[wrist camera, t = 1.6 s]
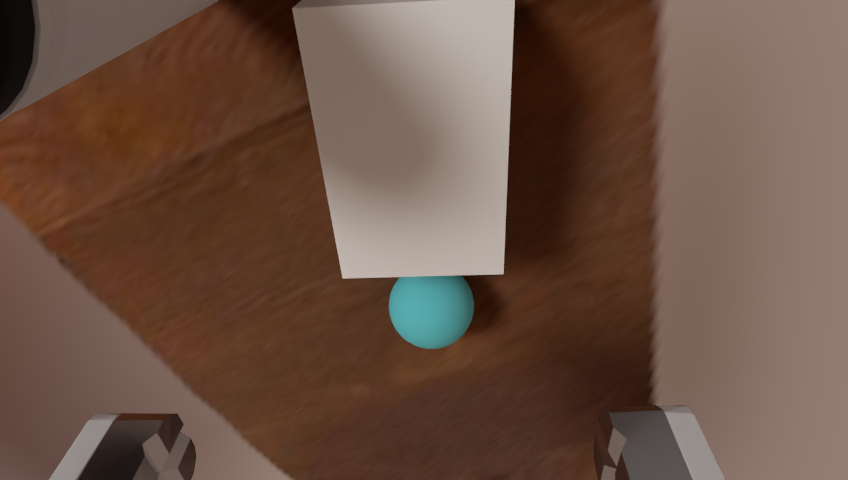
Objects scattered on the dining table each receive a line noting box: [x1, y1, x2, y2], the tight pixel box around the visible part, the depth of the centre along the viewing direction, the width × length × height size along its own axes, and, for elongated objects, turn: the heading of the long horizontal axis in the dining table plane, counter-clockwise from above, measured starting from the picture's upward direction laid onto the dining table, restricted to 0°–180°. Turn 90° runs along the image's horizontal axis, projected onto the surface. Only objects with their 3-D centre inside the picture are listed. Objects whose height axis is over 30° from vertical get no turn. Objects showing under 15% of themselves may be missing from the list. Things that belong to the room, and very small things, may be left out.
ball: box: [389, 275, 474, 349], centre depth 31 cm, size 5×5×5 cm
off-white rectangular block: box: [292, 0, 515, 278], centre depth 23 cm, size 11×7×8 cm, turn 3°
